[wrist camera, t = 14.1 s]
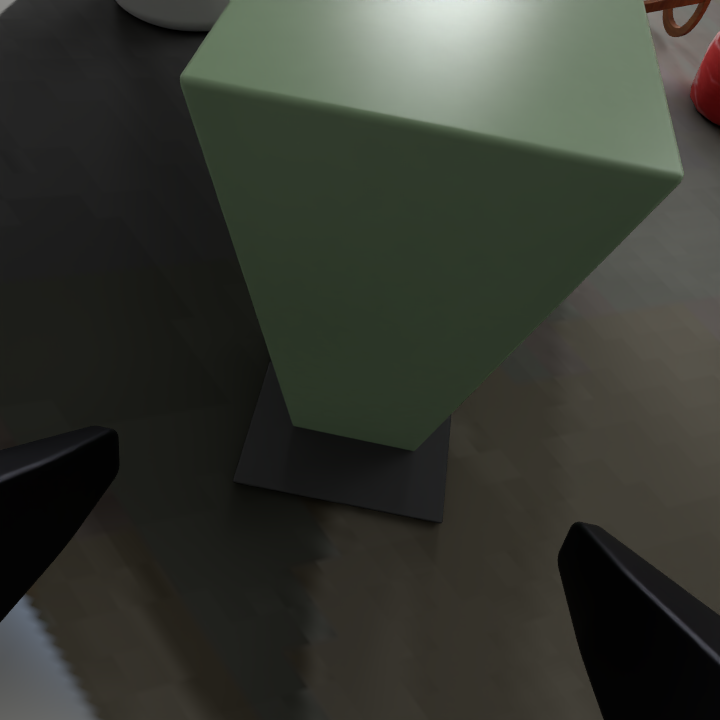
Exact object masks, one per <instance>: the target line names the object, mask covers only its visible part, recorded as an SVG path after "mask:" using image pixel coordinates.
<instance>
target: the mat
mask: <svg viewBox="0 0 720 720" xmlns="http://www.w3.org/2000/svg"><path fill="white" fill-rule="evenodd" d="M450 423H451V415H450V416H449V417H448V418H447V419H446V420H445V421H444V422H443V423H442V424H441V425H440V426H439V427H438V428H437V429H436V430H435V431H434V432H433V433H432V434H431V435H430V436H429V437H428V438H427V439H426V440H425V441H424V442H423V443H422V444H421V445H420V446H419V447H418V448H417V449H416V450H415V451H411V450H406V449H401V448H397V447H392V446H387V445H382V444H377V443H373V442H368V441H363V440H358V439H354V438H349V437H344V436H339V435H335V434H330V433H325V432H320V431H315V430H311V429H306V428H301V427H296V426H293V424H292V421H291V418H290V415H289V412H288V409H287V406H286V403H285V400H284V397H283V394H282V390H281V387H280V384H279V381H278V378H277V375H276V372H275V369H274V366H273V363H272V360H271V359H270V362H269V365H268V369H267V372H266V375H265V378H264V381H263V385H262V388H261V391H260V394H259V398H258V401H257V404H256V407H255V411H254V414H253V417H252V420H251V424H250V427H249V430H248V433H247V437H246V440H245V443H244V446H243V449H242V453H241V456H240V459H239V462H238V466H237V469H236V472H235V475H234V479H233V482H235V483H239V484H244V485H250V486H255V487H260V488H265V489H270V490H275V491H280V492H285V493H290V494H295V495H300V496H305V497H310V498H315V499H320V500H325V501H330V502H335V503H340V504H345V505H350V506H355V507H360V508H365V509H370V510H375V511H381V512H386V513H391V514H396V515H401V516H406V517H411V518H416V519H421V520H426V521H431V522H436V523H442V519H443V507H444V495H445V483H446V471H447V459H448V447H449V435H450Z"/></svg>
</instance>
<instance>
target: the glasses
mask: <svg viewBox="0 0 720 720" xmlns="http://www.w3.org/2000/svg"><path fill="white" fill-rule="evenodd" d="M710 1H711V0H647V1H644V6H645V10H646V13H649V12H654V11H660V10H663V24H664V28H665V30H666V32H667V33H668V34H669V35H670V36H672V37H680V36H683V35H686V34H687V33H689V32H690V31H691V30H692V29H693V28H694V27H695V26H696V25H697V23H698V22H699V21H700V19H701V18H702V16H703V14H704V13H705V11H706V9H707V7H708V5H709V3H710ZM698 3H699V5H698V7H697V9H696V10H695V12H694V14H693V15H692V17H691V18H690V19H689V21H688V22H687V23H686V24H685V25H683V26H682V27H680V26H678V25H677V24H676V23H675V21H674V18H673V8H676V7H682V6H687V5H692V4H698Z"/></svg>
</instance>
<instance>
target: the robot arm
mask: <svg viewBox="0 0 720 720" xmlns="http://www.w3.org/2000/svg"><path fill="white" fill-rule="evenodd" d="M118 470H119V439H118V434H117V432H116V431H115V430H114V429H110V428H105V427H100V426H90V427H86V428H83V429H79V430H75V431H71V432H67V433H64V434H60V435H56V436H52V437H49V438H45V439H41V440H37V441H34V442H30V443H26V444H22V445H18V446H15V447H11V448H7V449H3V450H0V622H1V621H2V620H3V619H4V617H5V616H6V615H7V614H8V613H9V612H10V611H11V609H12V608H13V607H14V606H15V605H16V604H17V603H18V601H19V600H20V599H21V598H22V597H23V596H24V595H25V593H26V592H27V591H28V590H29V589H30V588H31V586H32V585H33V584H34V583H35V582H36V581H37V579H38V578H39V577H40V576H41V575H42V574H43V573H44V571H45V570H46V569H47V568H48V567H49V566H50V564H51V563H52V562H53V561H54V560H55V559H56V557H57V556H58V555H59V554H60V553H61V551H62V550H63V549H64V548H65V546H66V545H67V544H68V542H69V541H70V540H71V538H72V537H73V536H74V534H75V533H76V532H77V530H78V529H79V527H80V526H81V525H82V523H83V522H84V521H85V519H86V518H87V516H88V515H89V514H90V512H91V511H92V509H93V508H94V507H95V505H96V504H97V502H98V501H99V500H100V498H101V497H102V495H103V494H104V493H105V491H106V490H107V488H108V487H109V486H110V484H111V483H112V482H113V480H114V479H115V477H116V475H117V473H118ZM558 568H559V572H560V576H561V580H562V584H563V588H564V592H565V595H566V599H567V603H568V607H569V611H570V615H571V619H572V623H573V627H574V631H575V635H576V639H577V642H578V646H579V649H580V653H581V656H582V659H583V662H584V665H585V668H586V671H587V674H588V677H589V679H590V682H591V685H592V688H593V691H594V694H595V696H596V699H597V702H598V705H599V708H600V711H601V714H602V716H603V719H604V720H720V616H719V615H718V614H717V613H715V612H714V611H713V610H711V609H710V608H709V607H707V606H706V605H705V604H703V603H702V602H701V601H699V600H698V599H697V598H695V597H694V596H692V595H691V594H690V593H688V592H687V591H686V590H684V589H683V588H682V587H680V586H679V585H678V584H676V583H675V582H674V581H672V580H671V579H670V578H668V577H667V576H666V575H664V574H663V573H662V572H660V571H659V570H657V569H656V568H655V567H653V566H652V565H651V564H649V563H648V562H647V561H645V560H644V559H643V558H641V557H640V556H639V555H637V554H636V553H635V552H633V551H632V550H631V549H629V548H628V547H627V546H625V545H624V544H623V543H621V542H620V541H618V540H617V539H616V538H614V537H613V536H612V535H610V534H609V533H608V532H606V531H605V530H604V529H602V528H601V527H599V526H597V525H593V524H588V523H583V522H576V523H574V524H573V525H572V526H571V528H570V530H569V532H568V534H567V536H566V538H565V540H564V543H563V545H562V547H561V549H560V551H559V554H558Z"/></svg>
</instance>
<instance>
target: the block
mask: <svg viewBox="0 0 720 720" xmlns="http://www.w3.org/2000/svg"><path fill="white" fill-rule="evenodd" d="M180 85H181V88H182V91H183V94H184V97H185V100H186V103H187V106H188V109H189V112H190V115H191V118H192V121H193V124H194V128H195V131H196V134H197V137H198V140H199V143H200V146H201V149H202V152H203V155H204V158H205V161H206V164H207V167H208V170H209V173H210V176H211V179H212V182H213V185H214V188H215V191H216V194H217V197H218V200H219V203H220V206H221V209H222V212H223V215H224V218H225V221H226V224H227V227H228V230H229V233H230V236H231V239H232V242H233V245H234V248H235V251H236V254H237V257H238V261H239V264H240V267H241V270H242V273H243V276H244V279H245V282H246V285H247V288H248V291H249V294H250V297H251V300H252V303H253V306H254V309H255V312H256V315H257V318H258V321H259V324H260V327H261V330H262V333H263V336H264V339H265V342H266V345H267V348H268V351H269V354H270V357H271V360H272V363H273V366H274V369H275V372H276V375H277V378H278V381H279V384H280V387H281V390H282V394H283V397H284V400H285V403H286V406H287V409H288V412H289V415H290V418H291V421H292V424H293V426H296V427H301V428H306V429H311V430H315V431H320V432H325V433H330V434H335V435H339V436H344V437H349V438H354V439H358V440H363V441H368V442H373V443H377V444H382V445H387V446H392V447H397V448H401V449H406V450H411V451H415V450H416V449H417V448H418V447H419V446H420V445H421V444H422V443H423V442H424V441H425V440H426V439H427V438H428V437H429V436H430V435H431V434H432V433H433V432H434V431H435V430H436V429H437V428H438V427H439V426H440V425H441V424H442V423H443V422H444V421H445V420H446V419H447V418H448V417H449V416H450V415H451V414H452V413H453V412H454V411H455V410H456V409H457V408H458V407H459V406H460V405H461V404H462V403H463V402H464V401H465V400H466V399H467V398H468V396H469V395H470V394H471V393H472V392H473V391H474V390H475V389H476V388H477V387H478V386H479V385H480V384H481V383H482V382H483V381H484V380H485V379H486V378H487V377H488V376H489V375H490V374H491V373H492V372H493V371H494V370H495V369H496V368H497V367H498V366H499V365H500V364H501V363H502V362H503V361H504V360H505V359H506V358H507V357H508V356H509V355H510V354H511V353H512V352H513V351H514V350H515V349H516V348H517V347H518V346H519V345H520V344H521V343H522V342H523V341H524V340H525V339H526V338H527V337H528V336H529V335H530V334H531V333H532V332H533V331H534V330H535V329H536V328H537V327H538V326H539V325H540V324H541V323H542V322H543V321H544V320H545V319H546V318H547V317H548V316H549V315H550V314H551V313H552V312H553V311H554V310H555V309H556V308H557V307H558V306H559V305H560V304H561V303H562V302H563V301H564V300H565V299H566V298H567V297H568V296H569V295H570V294H571V293H572V292H573V291H574V290H575V289H576V288H577V287H578V286H579V285H580V284H581V283H582V281H583V280H584V279H585V278H586V277H587V276H588V275H589V274H590V273H591V272H592V271H593V270H594V269H595V268H596V267H597V266H598V265H599V264H600V263H601V262H602V261H603V260H604V259H605V258H606V257H607V256H608V255H609V254H610V253H611V252H612V251H613V250H614V249H615V248H616V247H617V246H618V245H619V244H620V243H621V242H622V241H623V240H624V239H625V238H626V237H627V236H628V235H629V234H630V233H631V232H632V231H633V230H634V229H635V228H636V227H637V226H638V225H639V224H640V223H641V222H642V221H643V220H644V219H645V218H646V217H647V216H648V215H649V214H650V213H651V212H652V211H653V210H654V209H655V208H656V207H657V206H658V205H659V204H660V203H661V202H662V201H663V200H664V199H665V198H666V197H667V196H668V195H669V194H670V193H671V192H672V191H673V190H674V189H675V188H676V187H677V186H678V185H679V184H680V183H681V181H682V179H683V176H684V171H683V167H682V163H681V159H680V154H679V150H678V146H677V142H676V137H675V133H674V129H673V125H672V120H671V116H670V112H669V108H668V103H667V99H666V95H665V91H664V86H663V82H662V78H661V74H660V69H659V65H658V61H657V57H656V52H655V48H654V44H653V40H652V35H651V31H650V27H649V23H648V18H647V14H646V10H645V6H644V1H643V0H230V2H229V3H228V5H227V6H226V8H225V9H224V11H223V12H222V14H221V15H220V17H219V18H218V20H217V21H216V23H215V24H214V26H213V27H212V29H211V30H210V32H209V33H208V35H207V36H206V38H205V39H204V41H203V42H202V44H201V45H200V47H199V48H198V50H197V51H196V53H195V54H194V56H193V57H192V59H191V60H190V62H189V63H188V65H187V66H186V68H185V69H184V71H183V72H182V74H181V75H180Z"/></svg>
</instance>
